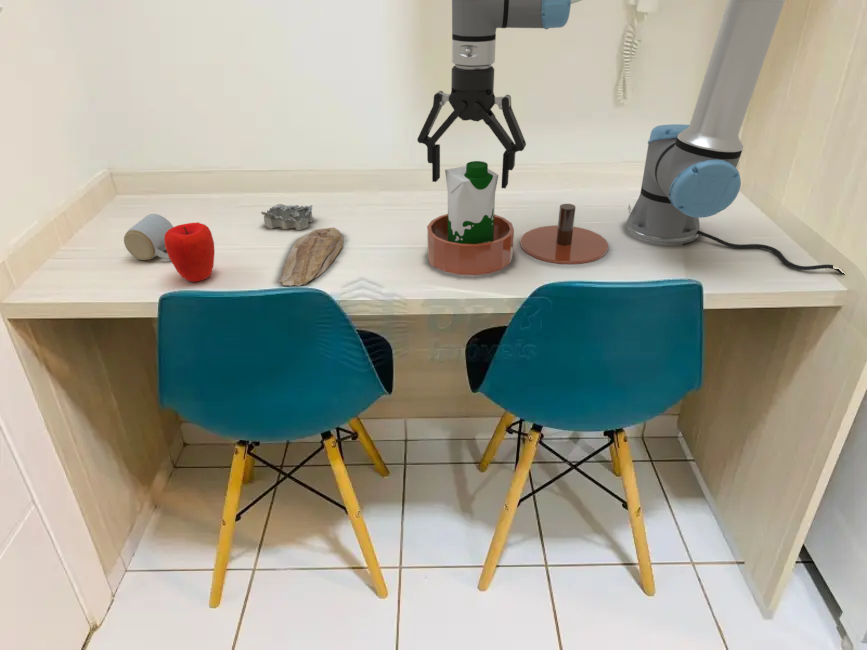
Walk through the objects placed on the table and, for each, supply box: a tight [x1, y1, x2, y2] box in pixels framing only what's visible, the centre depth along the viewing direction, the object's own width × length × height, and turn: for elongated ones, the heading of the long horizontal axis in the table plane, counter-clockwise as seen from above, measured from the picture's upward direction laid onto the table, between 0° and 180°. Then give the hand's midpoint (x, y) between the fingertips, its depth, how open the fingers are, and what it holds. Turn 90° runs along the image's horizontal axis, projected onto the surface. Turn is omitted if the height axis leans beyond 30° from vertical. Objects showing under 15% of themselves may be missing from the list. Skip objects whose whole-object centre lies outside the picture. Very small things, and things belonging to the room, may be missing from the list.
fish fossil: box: [278, 227, 344, 287], centre depth 131 cm, size 26×10×1 cm, turn 179°
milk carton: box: [444, 160, 499, 244], centre depth 124 cm, size 9×9×20 cm
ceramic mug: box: [123, 213, 174, 261], centre depth 131 cm, size 11×8×8 cm
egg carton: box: [260, 203, 314, 231], centre depth 146 cm, size 11×8×4 cm
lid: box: [519, 203, 609, 265], centre depth 131 cm, size 18×18×9 cm
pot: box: [426, 213, 515, 276], centre depth 128 cm, size 17×17×7 cm
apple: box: [165, 222, 215, 283], centre depth 122 cm, size 9×9×11 cm
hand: (469, 182), depth 121 cm, fingers open, 13 cm apart
